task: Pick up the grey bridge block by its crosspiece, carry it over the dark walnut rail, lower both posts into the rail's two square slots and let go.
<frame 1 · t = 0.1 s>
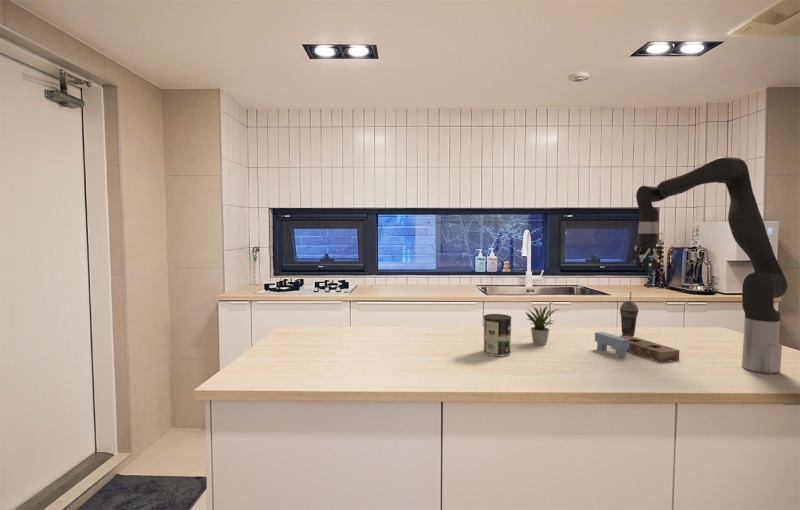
hand: (646, 270, 189), 29 cm above the counter, tool pointing down, fingers open, 8 cm apart
rail: (643, 352, 168), on the counter
grey bridge block: (611, 352, 168), on the counter
house plant: (542, 343, 181), on the counter
beverage cup: (628, 337, 192), on the counter
coffee can: (496, 353, 168), on the counter
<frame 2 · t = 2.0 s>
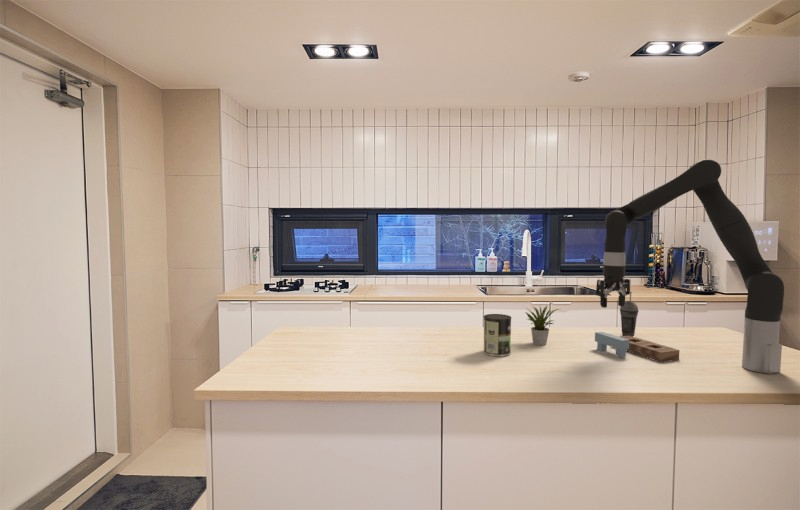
hand: (612, 306, 167), 18 cm above the counter, tool pointing down, fingers open, 8 cm apart
nothing on the counter moved.
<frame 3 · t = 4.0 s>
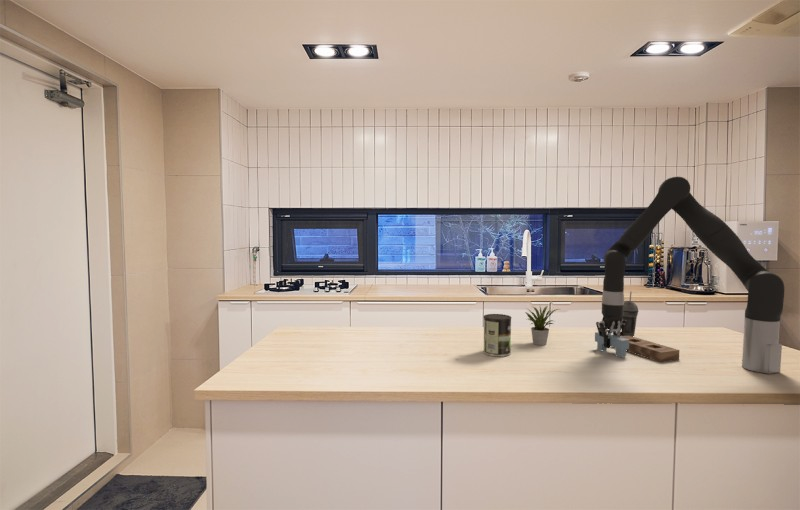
hand: (611, 347, 168), 2 cm above the counter, tool pointing down, fingers closed on grey bridge block, 3 cm apart
grey bridge block: (611, 352, 168), on the counter, touching gripper
everything else where it was.
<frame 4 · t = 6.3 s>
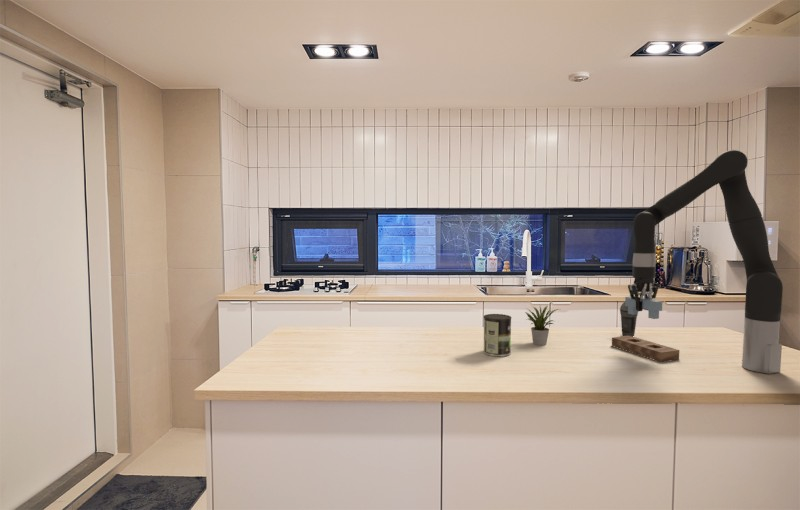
hand: (643, 310, 167), 16 cm above the counter, tool pointing down, fingers closed on grey bridge block, 3 cm apart
grey bridge block: (643, 315, 167), point 14 cm above the counter, touching gripper
everything else where it was.
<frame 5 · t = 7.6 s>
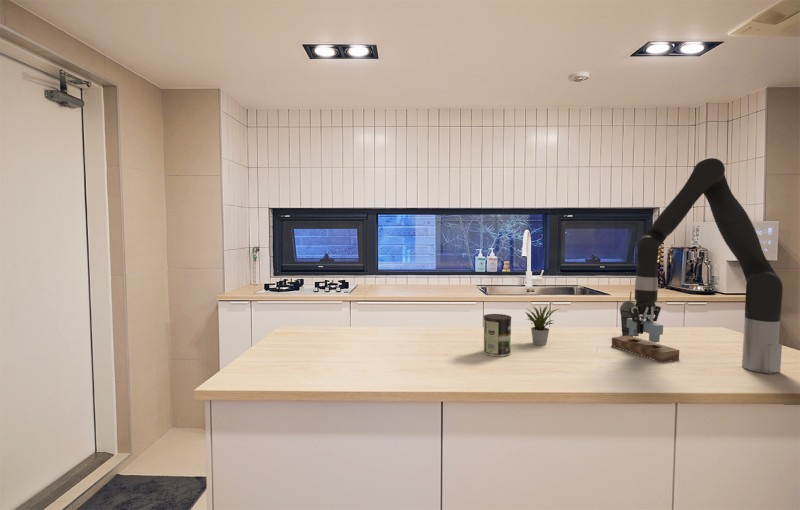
hand: (644, 332, 168), 8 cm above the counter, tool pointing down, fingers closed on grey bridge block, 3 cm apart
grey bridge block: (643, 338, 168), point 5 cm above the counter, touching gripper
everything else where it was.
when the fingers open (4 cm above the counter, at t = 8.7 s): grey bridge block drops 1 cm, resting on rail.
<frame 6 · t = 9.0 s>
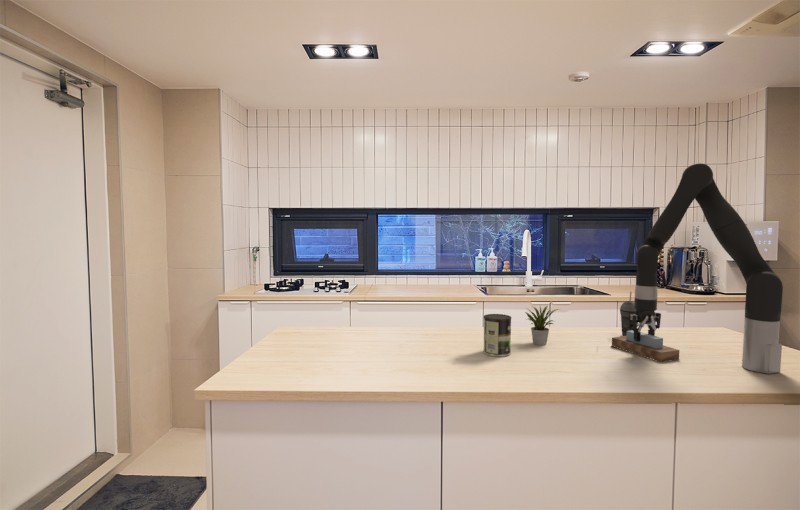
hand: (644, 340, 168), 5 cm above the counter, tool pointing down, fingers open, 6 cm apart
grey bridge block: (643, 351, 168), resting on rail
everything else where it was.
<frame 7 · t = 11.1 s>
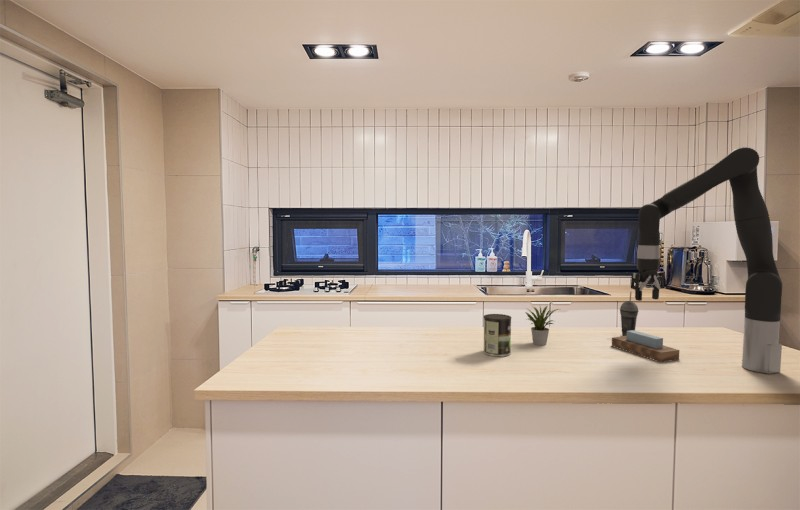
hand: (647, 299, 167), 20 cm above the counter, tool pointing down, fingers open, 8 cm apart
nothing on the counter moved.
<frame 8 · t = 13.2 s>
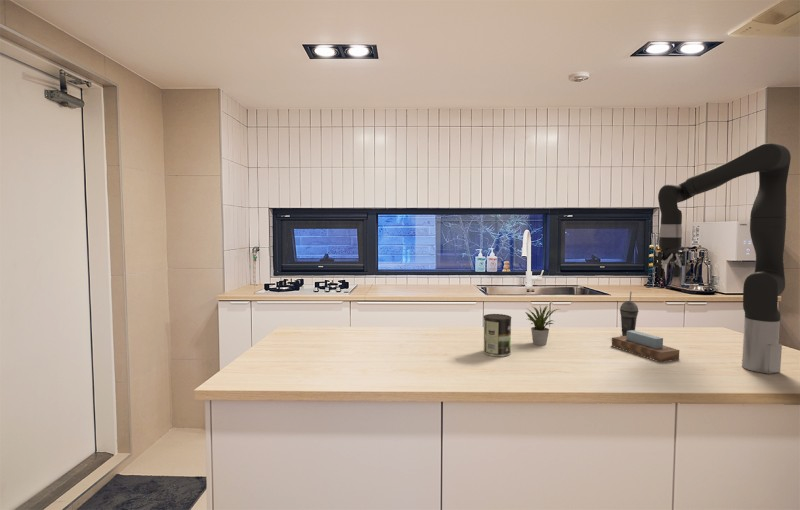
hand: (668, 277, 173), 28 cm above the counter, tool pointing down, fingers open, 8 cm apart
nothing on the counter moved.
at the end: grey bridge block 0.1 cm off-centre on the rail, point 0.5 cm above the rail's base; the gripper is holding nothing; grey bridge block tilted 0° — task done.
